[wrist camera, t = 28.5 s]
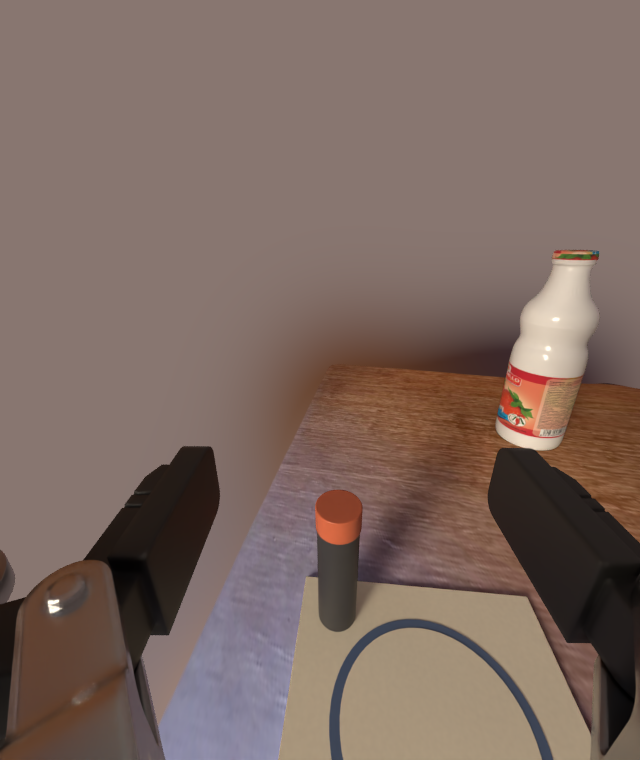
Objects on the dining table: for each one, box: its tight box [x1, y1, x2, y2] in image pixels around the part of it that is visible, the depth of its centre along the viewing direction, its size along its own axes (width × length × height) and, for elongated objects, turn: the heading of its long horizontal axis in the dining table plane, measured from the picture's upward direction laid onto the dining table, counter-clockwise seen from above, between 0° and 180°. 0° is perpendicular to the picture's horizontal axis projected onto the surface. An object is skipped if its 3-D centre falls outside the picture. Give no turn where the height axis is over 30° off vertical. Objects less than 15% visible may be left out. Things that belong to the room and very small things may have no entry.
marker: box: [315, 490, 362, 632], centre depth 27 cm, size 3×3×12 cm
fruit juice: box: [496, 250, 600, 450], centre depth 49 cm, size 9×9×28 cm
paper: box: [278, 576, 591, 760], centre depth 22 cm, size 20×20×1 cm
